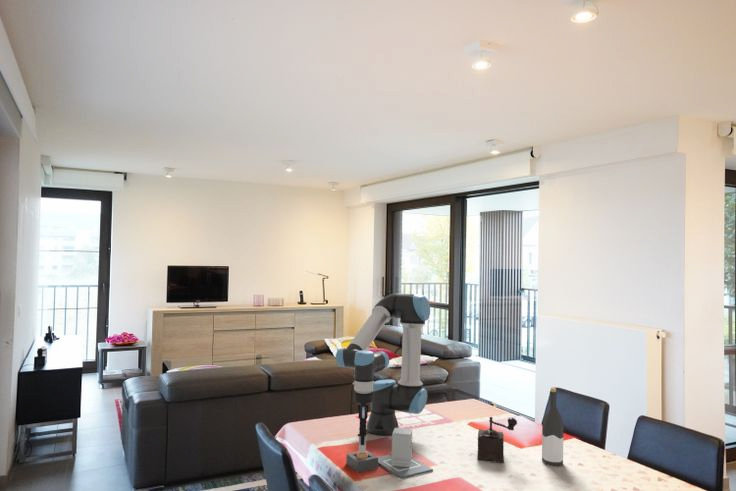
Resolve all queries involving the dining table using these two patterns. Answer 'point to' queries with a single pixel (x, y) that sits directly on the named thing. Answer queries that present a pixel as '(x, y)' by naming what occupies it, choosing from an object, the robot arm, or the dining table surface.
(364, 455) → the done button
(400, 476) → the slate board
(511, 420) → the manual coffee grinder
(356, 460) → the button housing
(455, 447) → the dining table surface
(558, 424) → the wine bottle
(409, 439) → the supplement box
